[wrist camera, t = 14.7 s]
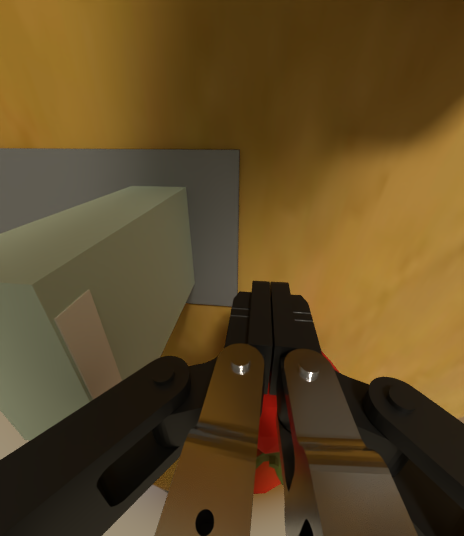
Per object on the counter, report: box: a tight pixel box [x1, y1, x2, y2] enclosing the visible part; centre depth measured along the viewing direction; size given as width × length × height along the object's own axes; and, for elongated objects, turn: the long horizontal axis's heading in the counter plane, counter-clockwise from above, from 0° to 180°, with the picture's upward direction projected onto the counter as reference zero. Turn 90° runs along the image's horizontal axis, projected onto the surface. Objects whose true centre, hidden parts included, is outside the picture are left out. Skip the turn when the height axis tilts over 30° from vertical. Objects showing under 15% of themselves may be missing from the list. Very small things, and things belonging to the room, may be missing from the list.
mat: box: [0, 148, 240, 306], centre depth 17 cm, size 11×20×1 cm, turn 90°
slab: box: [0, 186, 195, 441], centre depth 11 cm, size 7×4×11 cm, turn 0°
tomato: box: [254, 351, 339, 494], centre depth 18 cm, size 11×11×9 cm
